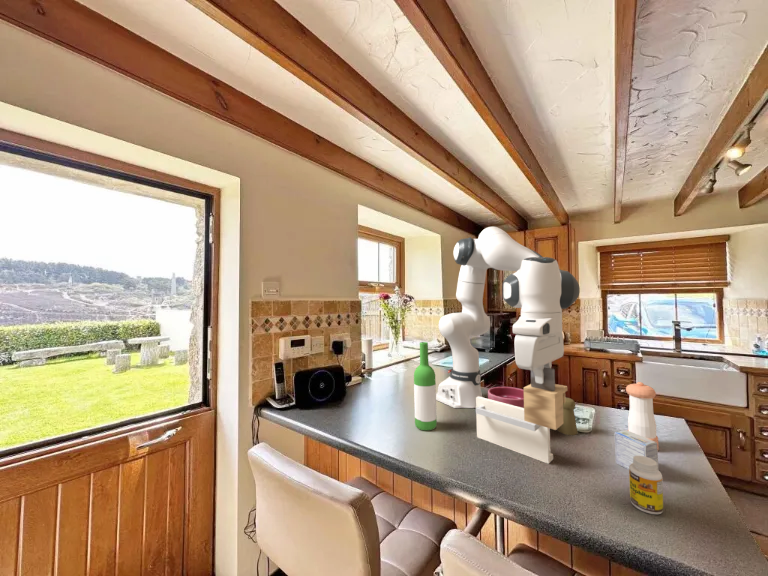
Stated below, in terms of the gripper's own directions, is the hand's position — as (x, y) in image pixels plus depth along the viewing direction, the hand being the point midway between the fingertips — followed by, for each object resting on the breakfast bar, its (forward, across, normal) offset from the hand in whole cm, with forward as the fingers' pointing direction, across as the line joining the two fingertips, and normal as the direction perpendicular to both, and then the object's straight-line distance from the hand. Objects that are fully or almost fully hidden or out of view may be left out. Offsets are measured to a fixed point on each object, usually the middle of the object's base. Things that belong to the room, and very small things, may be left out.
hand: (542, 381), depth 73 cm
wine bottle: (+27, -7, -43) cm, 51 cm away
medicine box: (+26, -26, +13) cm, 39 cm away
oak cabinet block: (+10, -2, 0) cm, 10 cm away
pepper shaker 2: (+26, -43, +12) cm, 52 cm away
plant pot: (+26, -26, -21) cm, 42 cm away
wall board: (+26, -13, -15) cm, 33 cm away
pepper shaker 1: (+26, -38, -7) cm, 47 cm away
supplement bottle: (+26, -10, +17) cm, 33 cm away
